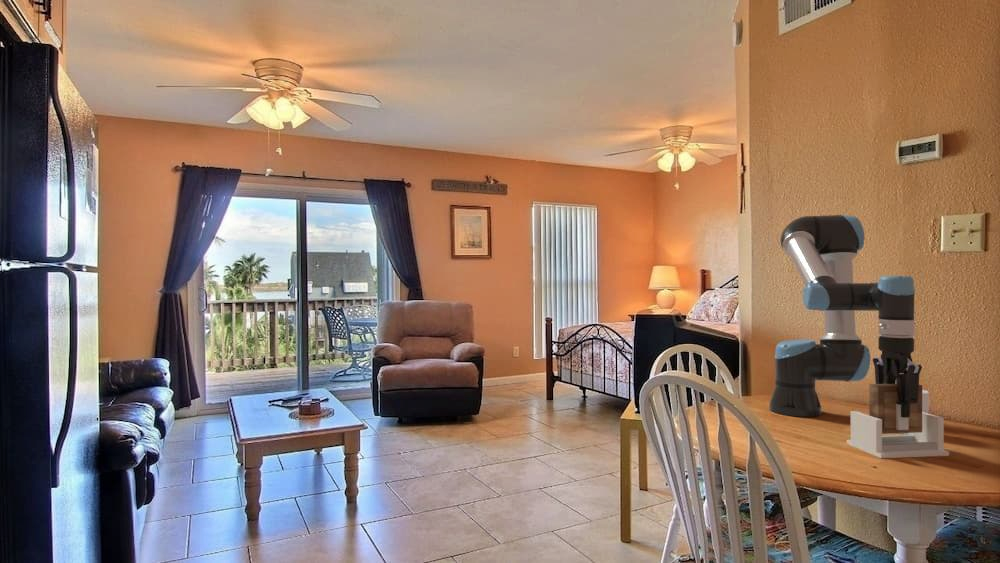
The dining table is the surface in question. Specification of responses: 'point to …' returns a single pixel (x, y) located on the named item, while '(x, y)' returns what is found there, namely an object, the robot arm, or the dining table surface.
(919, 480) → the dining table surface
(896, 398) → the door panel
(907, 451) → the track frame
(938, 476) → the dining table surface
